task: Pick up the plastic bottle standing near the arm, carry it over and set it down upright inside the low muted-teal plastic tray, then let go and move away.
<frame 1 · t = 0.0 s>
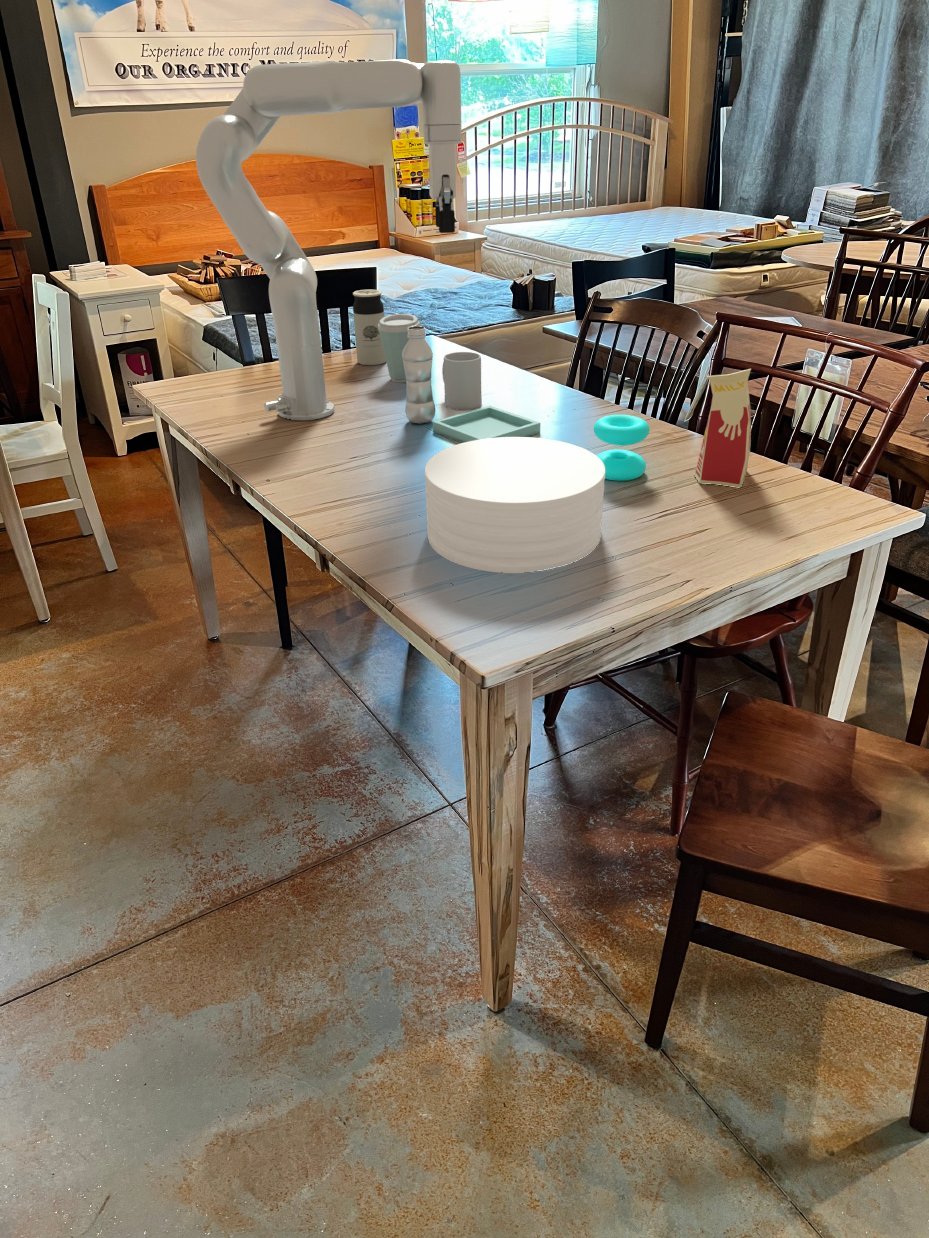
hand: (445, 229, 180), 37 cm above the table, tool pointing down, fingers open, 9 cm apart
donuts: (617, 474, 162), on the table
milk carton: (719, 478, 159), on the table
disposable coffee cup: (402, 380, 219), on the table
tray: (486, 432, 183), on the table
plastic bottle: (420, 422, 190), on the table
plate stack: (513, 534, 141), on the table
mug: (459, 403, 201), on the table
travel mug: (372, 363, 234), on the table
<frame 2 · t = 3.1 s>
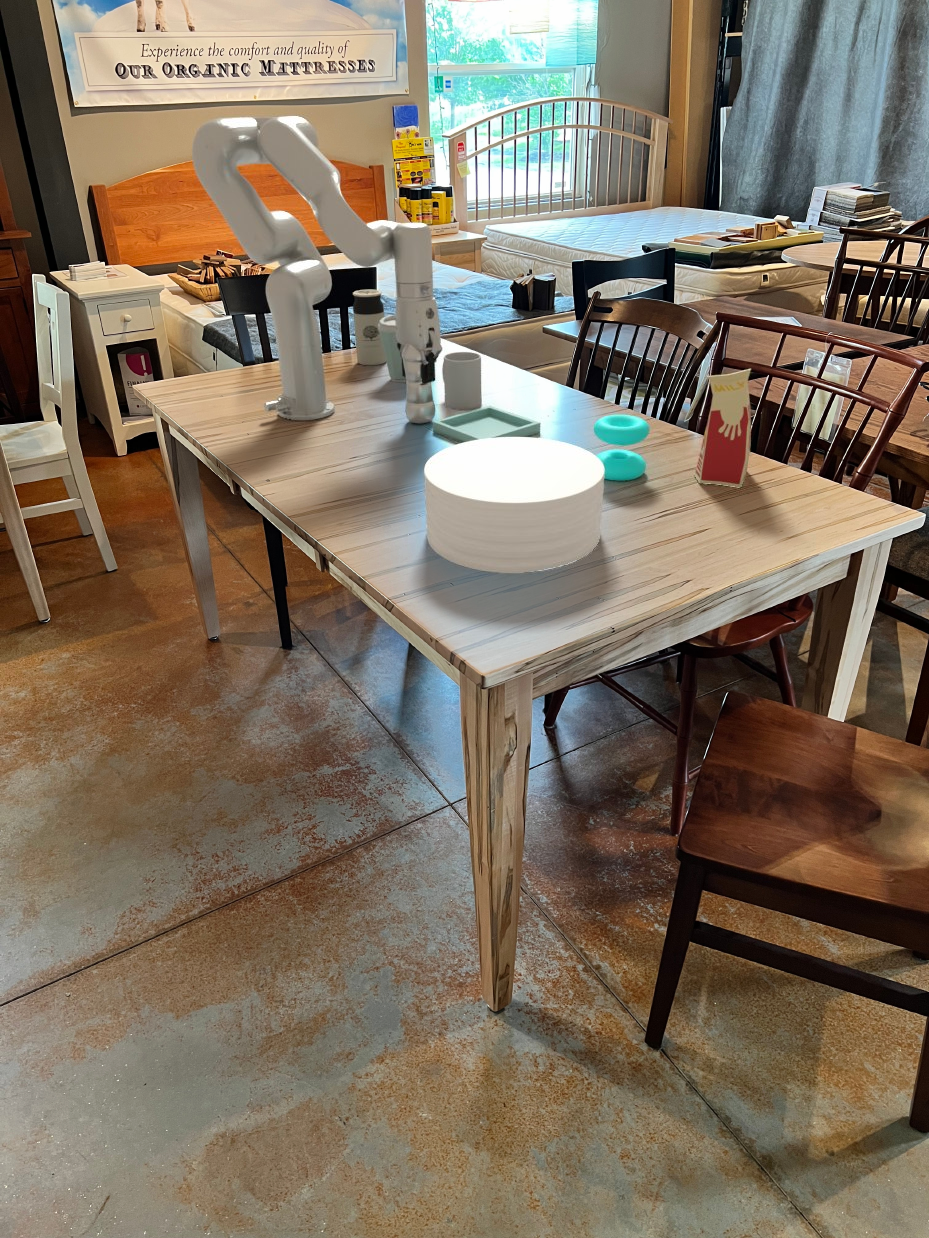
hand: (418, 378, 185), 10 cm above the table, tool pointing down, fingers closed on plastic bottle, 6 cm apart
plastic bottle: (420, 422, 190), on the table, touching gripper
everything else where it was.
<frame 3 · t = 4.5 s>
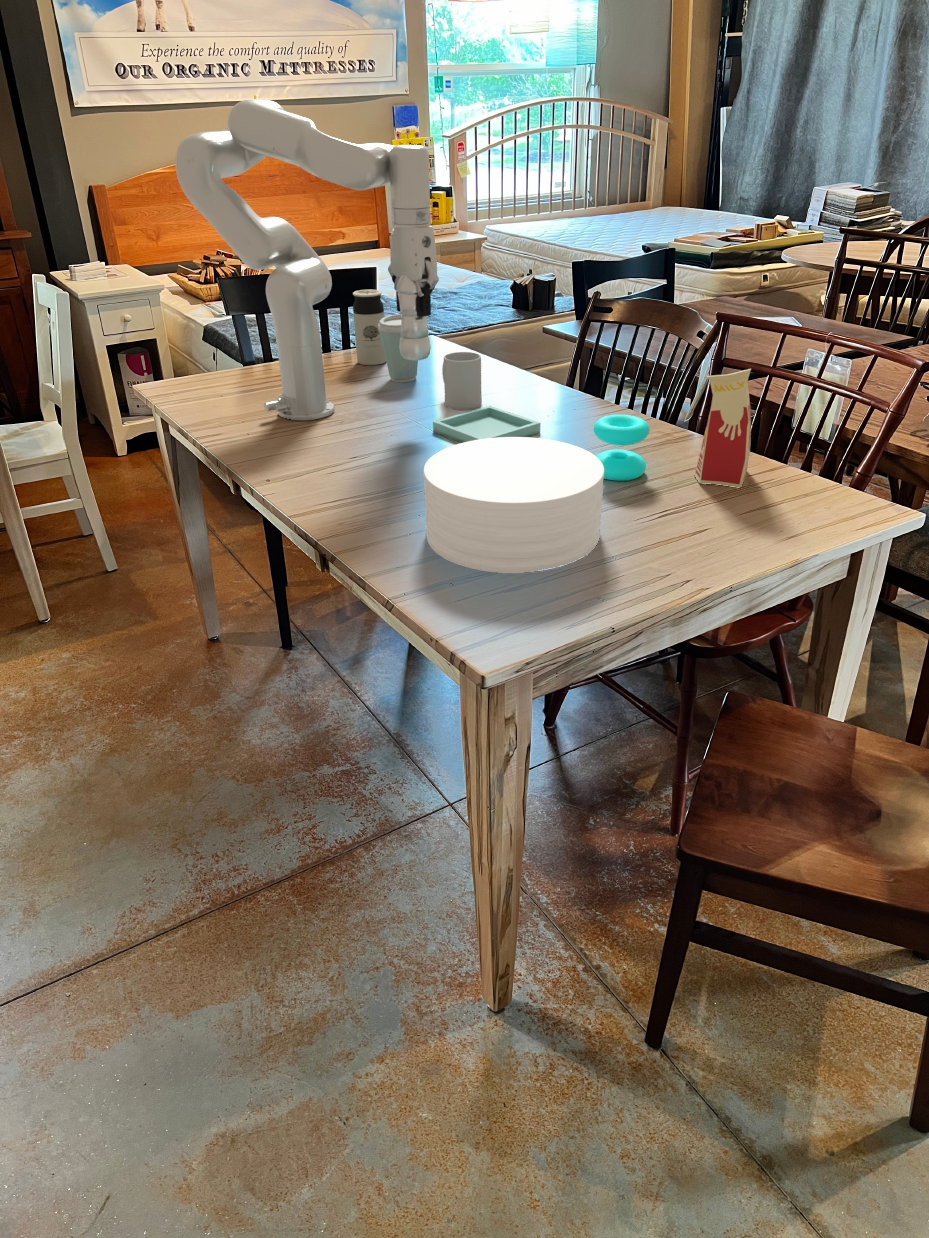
hand: (413, 312, 178), 23 cm above the table, tool pointing down, fingers closed on plastic bottle, 6 cm apart
plastic bottle: (415, 360, 183), point 13 cm above the table, touching gripper
everything else where it was.
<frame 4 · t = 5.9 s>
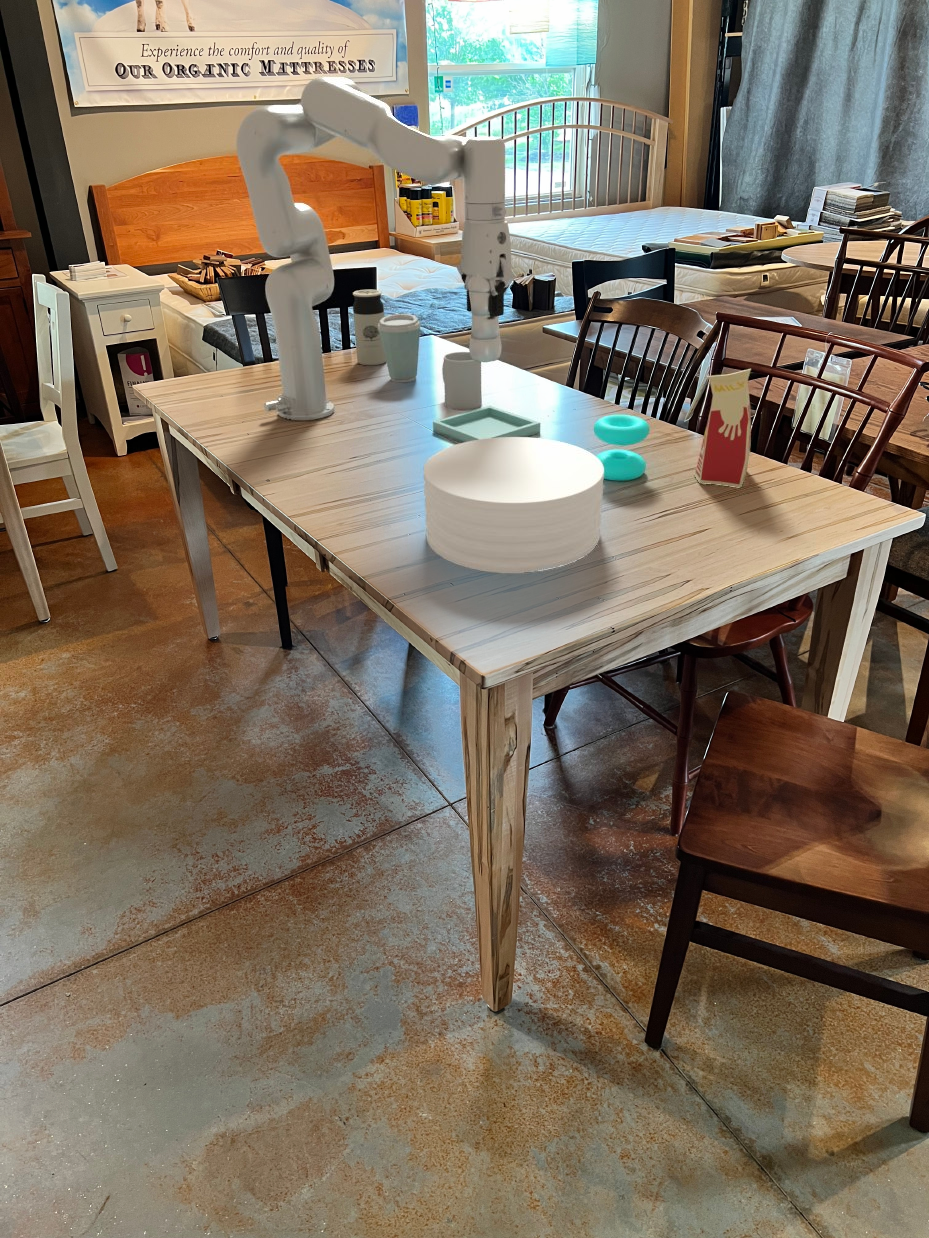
hand: (485, 312, 170), 24 cm above the table, tool pointing down, fingers closed on plastic bottle, 6 cm apart
plastic bottle: (485, 362, 175), point 15 cm above the table, touching gripper
everything else where it was.
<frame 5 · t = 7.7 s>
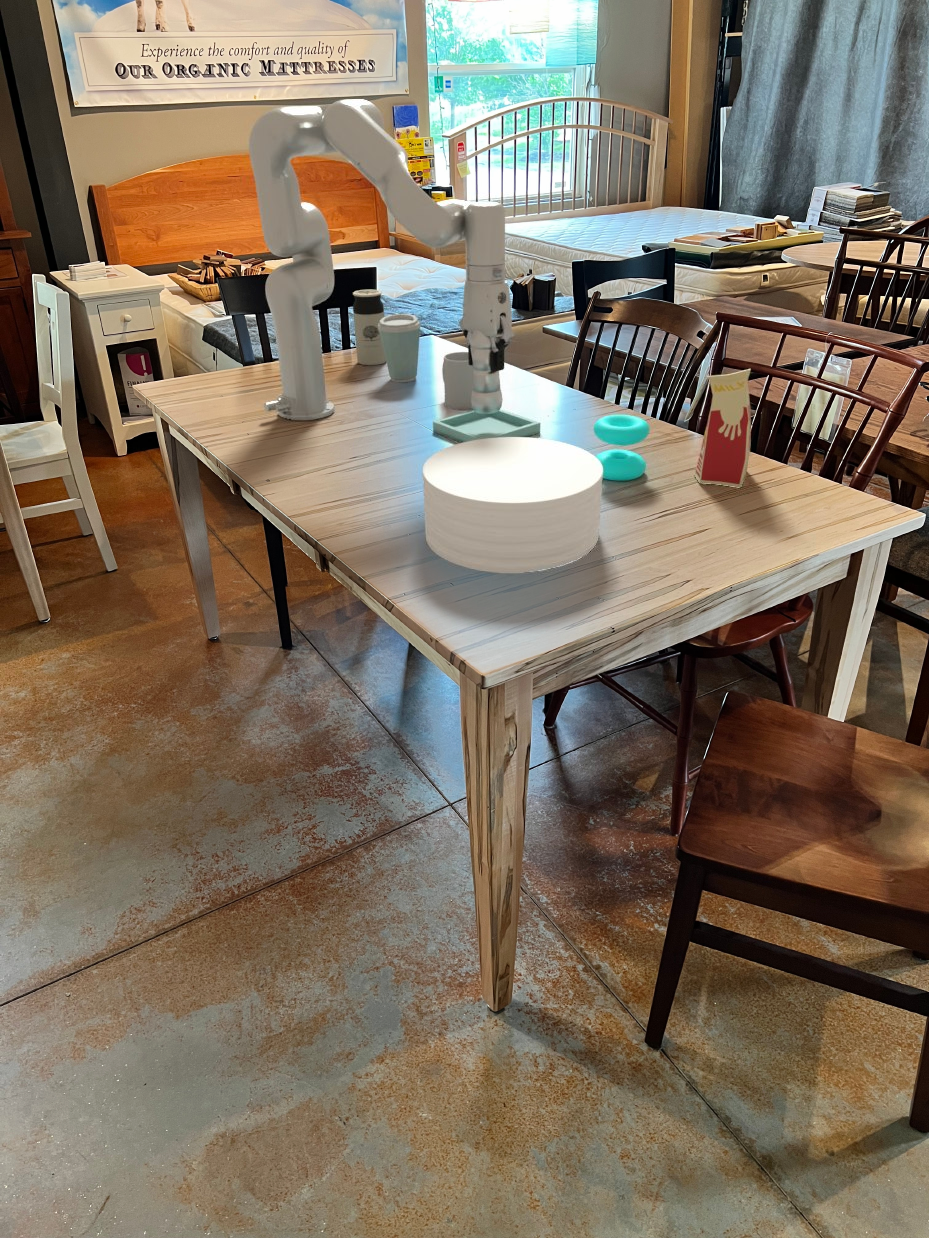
hand: (486, 366, 176), 14 cm above the table, tool pointing down, fingers closed on plastic bottle, 6 cm apart
plastic bottle: (486, 413, 181), point 4 cm above the table, touching gripper
everything else where it was.
when the fingers open (11 cm above the table, at t = 9.1 s): plastic bottle drops 1 cm, resting on tray.
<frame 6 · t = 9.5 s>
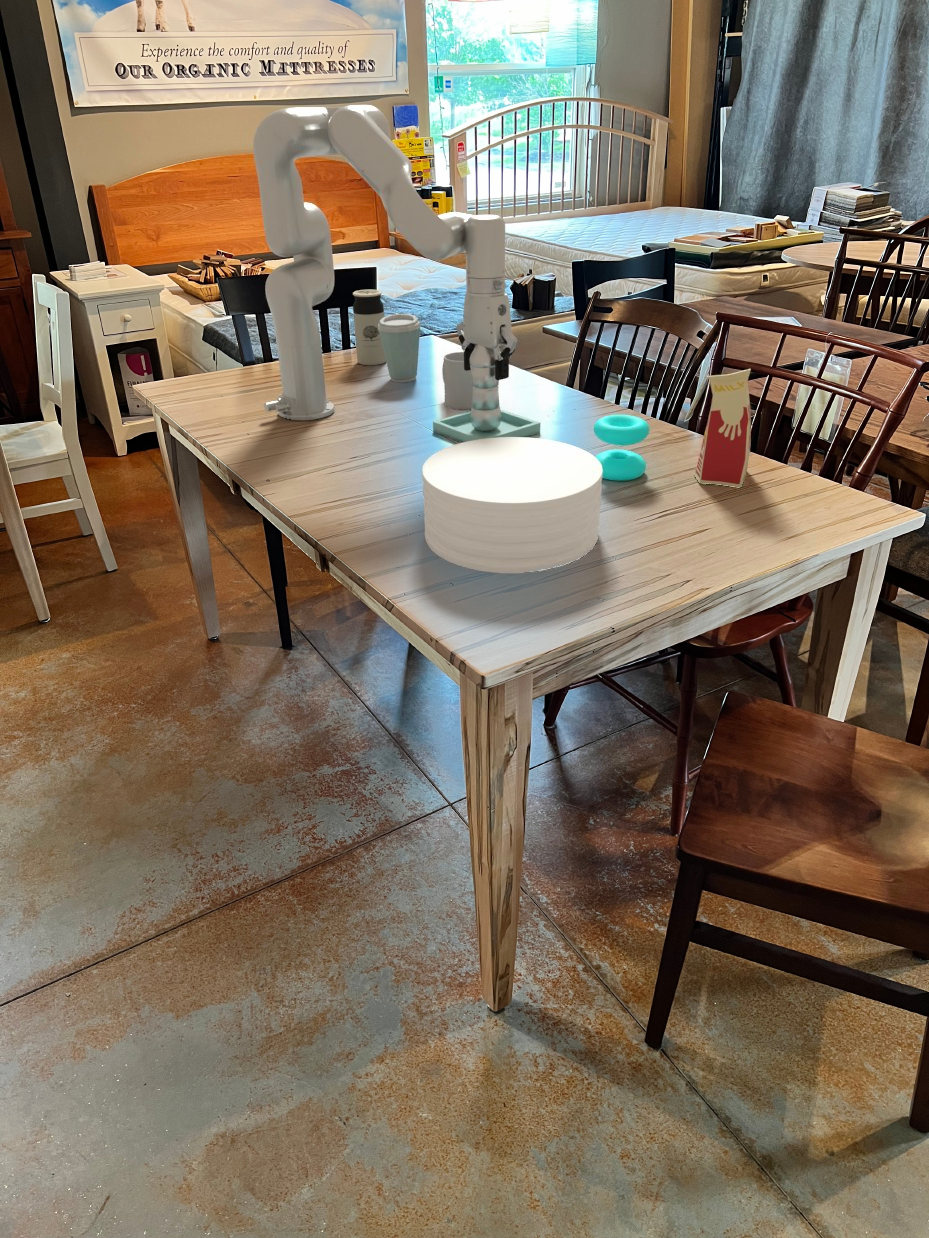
hand: (486, 374, 177), 12 cm above the table, tool pointing down, fingers open, 9 cm apart
plastic bottle: (485, 430, 183), resting on tray
everything else where it was.
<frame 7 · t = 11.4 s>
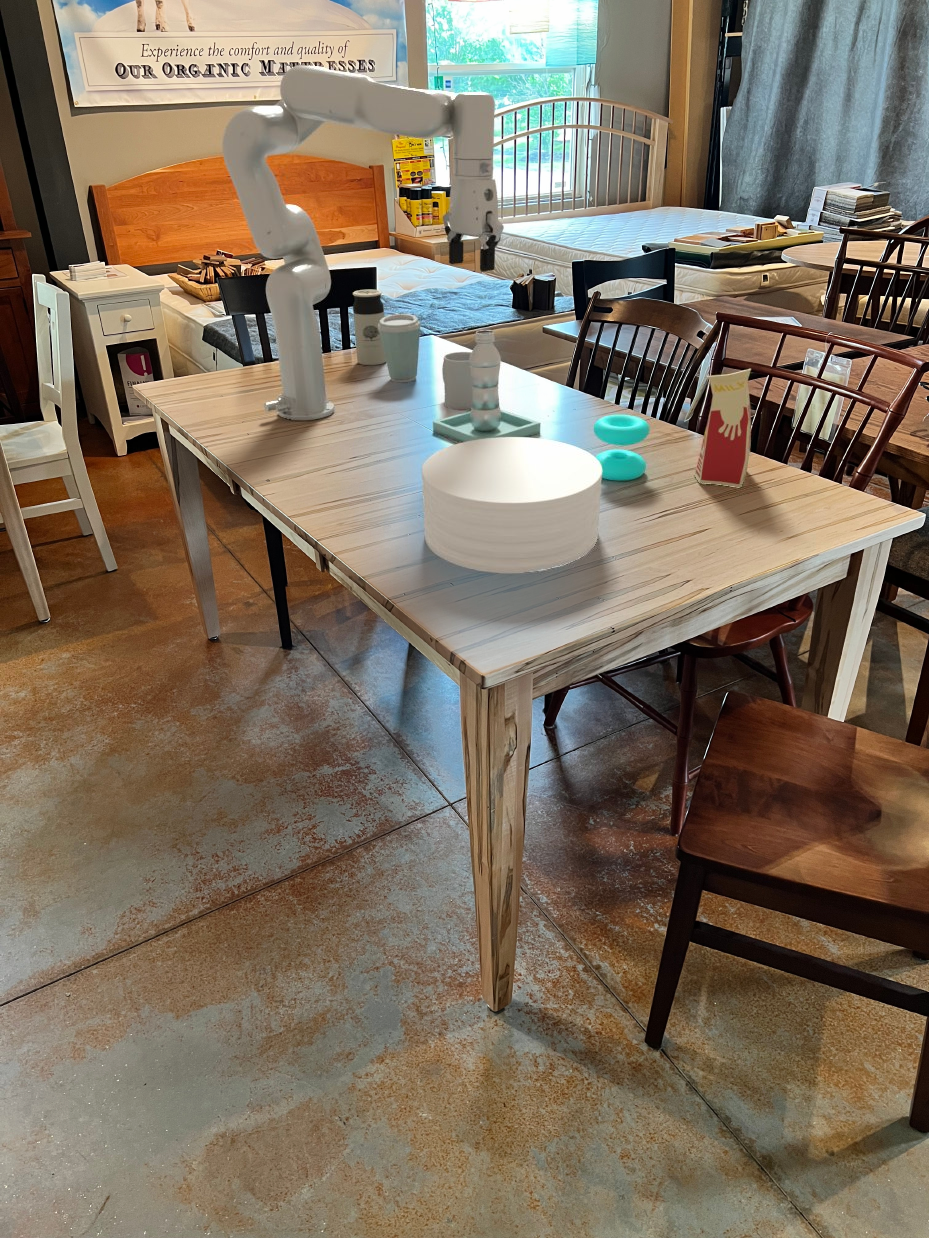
hand: (471, 267, 171), 32 cm above the table, tool pointing down, fingers open, 9 cm apart
nothing on the table moved.
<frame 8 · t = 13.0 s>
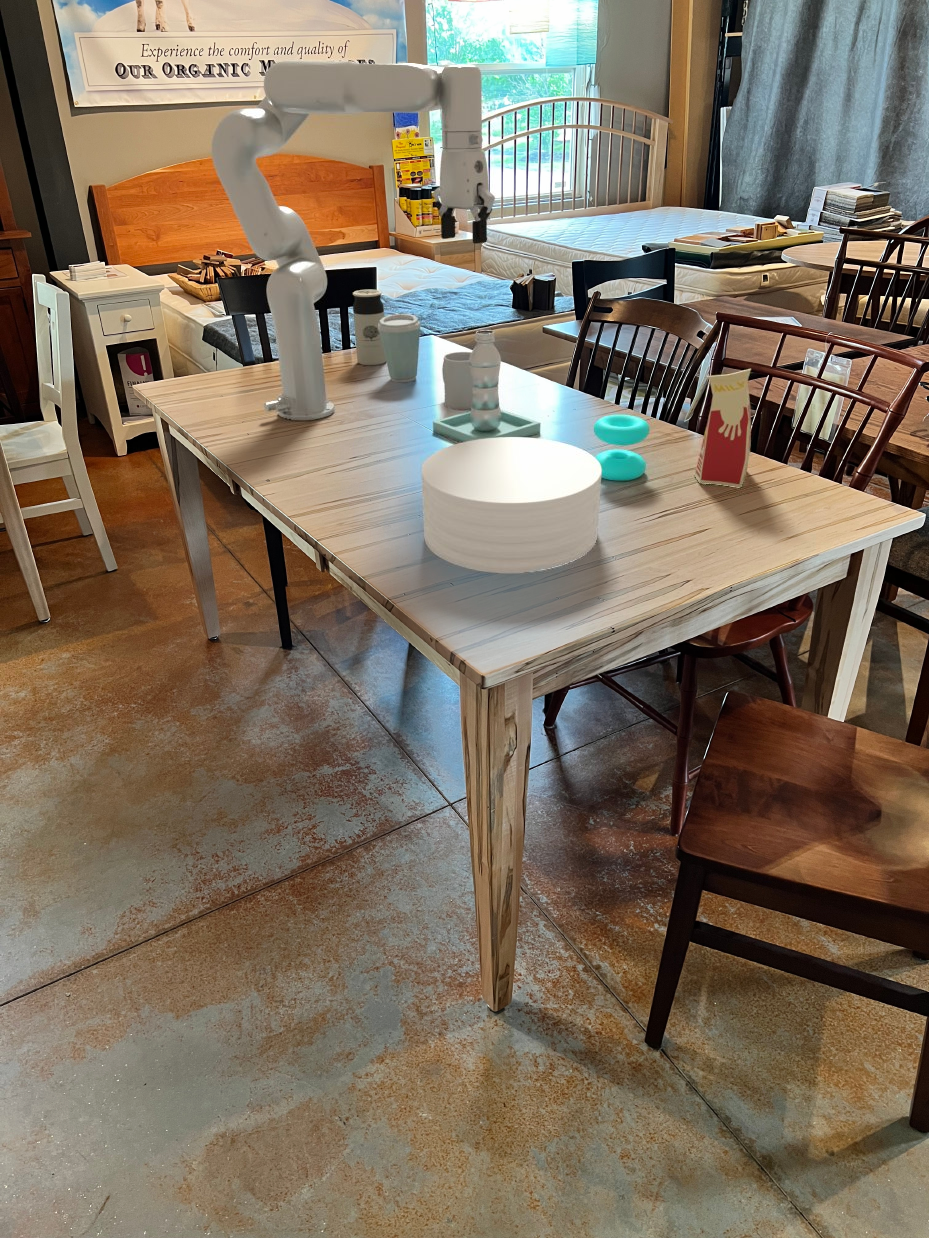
hand: (463, 240, 172), 36 cm above the table, tool pointing down, fingers open, 9 cm apart
nothing on the table moved.
at the end: plastic bottle inside the target area on the tray (0.2 cm from its centre), point 0.4 cm above the tray's base; plastic bottle tilted 0°; the gripper is holding nothing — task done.
